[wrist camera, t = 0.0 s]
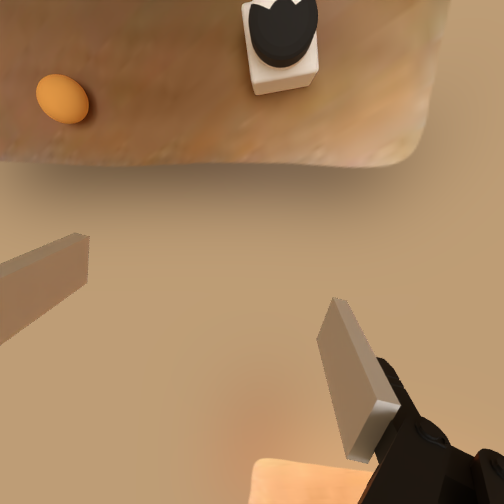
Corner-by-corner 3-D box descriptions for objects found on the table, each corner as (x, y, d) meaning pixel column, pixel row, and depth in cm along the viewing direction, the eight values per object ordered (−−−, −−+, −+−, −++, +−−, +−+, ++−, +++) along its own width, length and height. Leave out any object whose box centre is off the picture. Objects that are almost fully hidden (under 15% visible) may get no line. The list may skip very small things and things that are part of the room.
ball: (57, 75, 37) (23, 62, 32) (98, 86, 38) (71, 75, 32) (57, 119, 39) (25, 115, 34) (96, 130, 39) (70, 126, 34)
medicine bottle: (310, 86, 36) (328, 56, 25) (254, 96, 37) (248, 72, 26) (305, 18, 34) (322, -48, 23) (246, 31, 35) (234, -28, 23)
